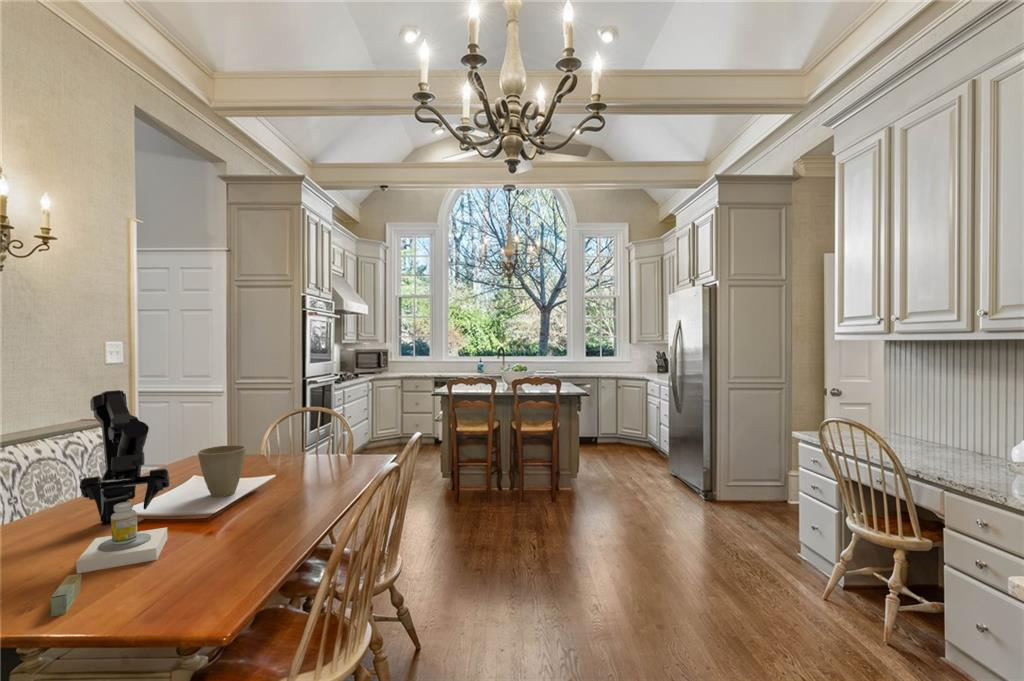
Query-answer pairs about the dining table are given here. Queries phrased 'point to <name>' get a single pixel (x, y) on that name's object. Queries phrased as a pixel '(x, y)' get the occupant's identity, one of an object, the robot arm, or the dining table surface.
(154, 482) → the robot arm
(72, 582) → the medication box
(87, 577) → the dining table surface
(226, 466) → the plant pot
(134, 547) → the plinth
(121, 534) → the supplement bottle
